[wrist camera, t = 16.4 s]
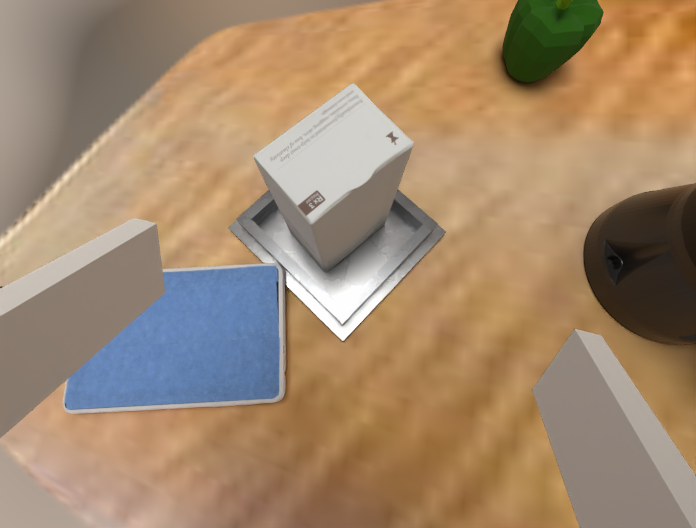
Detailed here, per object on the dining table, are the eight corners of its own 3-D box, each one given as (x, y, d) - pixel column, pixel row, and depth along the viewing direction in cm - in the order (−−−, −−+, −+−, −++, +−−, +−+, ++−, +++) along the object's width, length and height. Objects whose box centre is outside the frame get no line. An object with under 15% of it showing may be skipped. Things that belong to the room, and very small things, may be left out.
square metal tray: (333, 139, 38) (332, 121, 35) (443, 234, 36) (452, 223, 33) (230, 230, 35) (220, 219, 32) (342, 341, 33) (342, 340, 30)
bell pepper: (524, 26, 43) (578, -70, 33) (572, 70, 41) (643, -17, 32) (475, 58, 41) (516, -32, 32) (523, 105, 40) (581, 25, 30)
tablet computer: (285, 263, 33) (282, 260, 32) (287, 401, 30) (283, 403, 29) (89, 275, 34) (78, 272, 32) (70, 413, 31) (57, 416, 29)
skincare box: (349, 185, 36) (355, 72, 21) (388, 227, 35) (421, 137, 20) (285, 234, 34) (246, 148, 20) (324, 279, 33) (311, 222, 19)
